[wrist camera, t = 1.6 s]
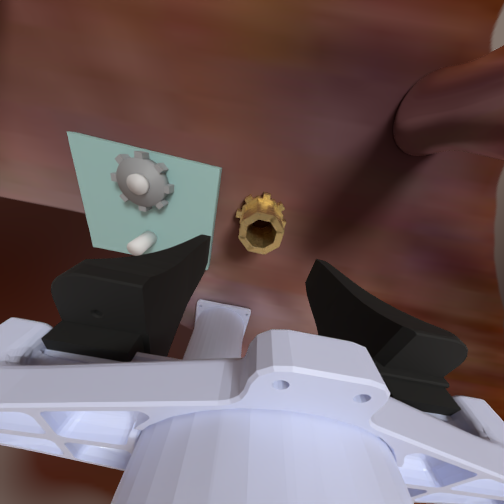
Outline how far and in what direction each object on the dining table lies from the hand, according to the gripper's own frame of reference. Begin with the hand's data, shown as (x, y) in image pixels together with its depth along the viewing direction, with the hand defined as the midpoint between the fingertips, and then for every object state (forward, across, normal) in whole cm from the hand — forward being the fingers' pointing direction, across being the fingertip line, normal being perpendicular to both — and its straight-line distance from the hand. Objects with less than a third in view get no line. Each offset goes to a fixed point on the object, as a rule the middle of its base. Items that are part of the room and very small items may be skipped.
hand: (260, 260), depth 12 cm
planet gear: (+9, 0, 0) cm, 9 cm away
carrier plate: (+9, +12, +2) cm, 15 cm away
